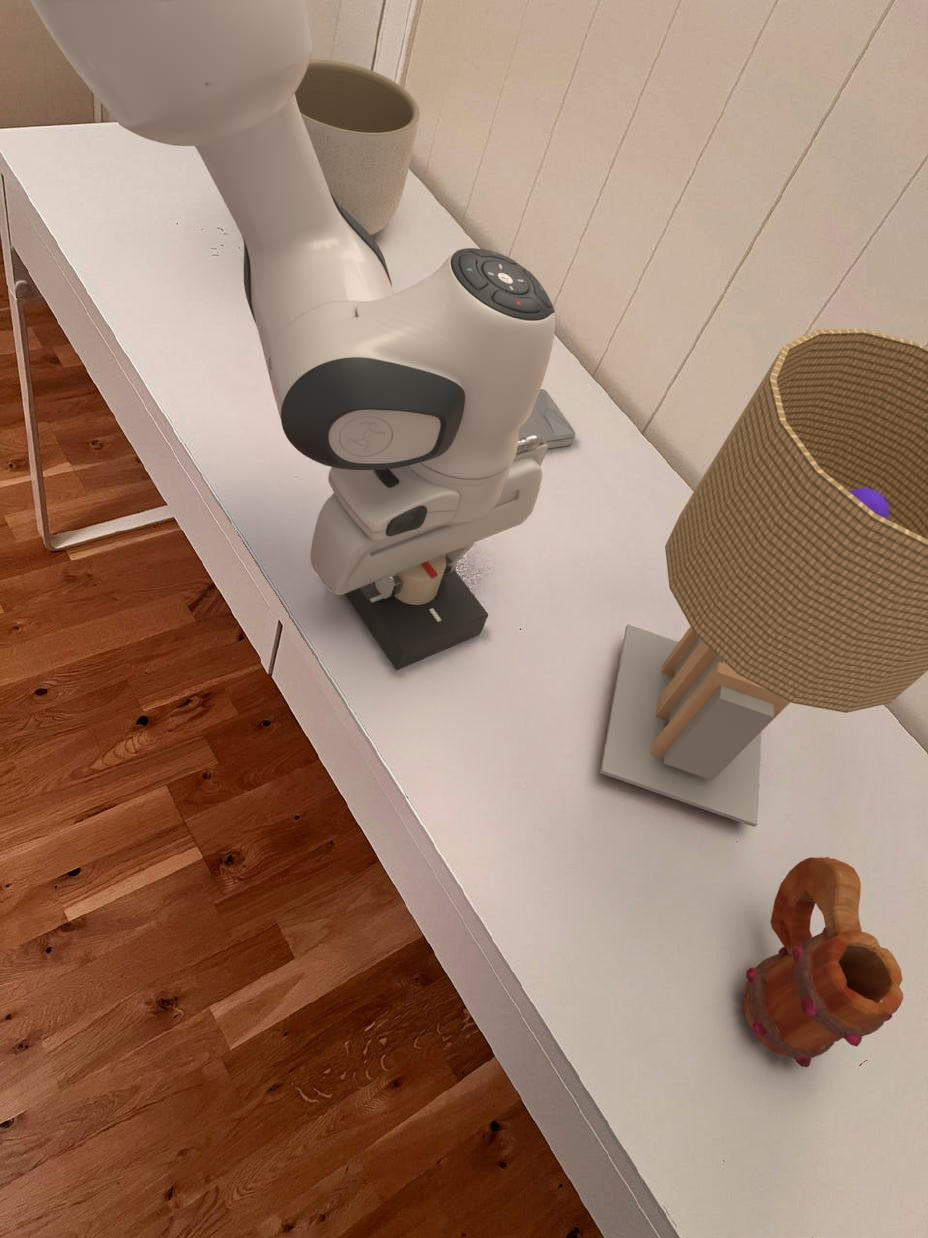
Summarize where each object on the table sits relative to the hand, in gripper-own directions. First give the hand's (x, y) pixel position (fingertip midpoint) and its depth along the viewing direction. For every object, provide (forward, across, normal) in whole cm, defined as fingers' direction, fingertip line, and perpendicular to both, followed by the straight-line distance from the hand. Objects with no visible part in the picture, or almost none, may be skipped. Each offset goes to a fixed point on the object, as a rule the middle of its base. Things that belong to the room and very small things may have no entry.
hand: (414, 579), depth 78 cm
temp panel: (+4, 0, 0) cm, 4 cm away
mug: (+4, -6, +42) cm, 42 cm away
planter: (+4, -25, -56) cm, 62 cm away
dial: (+1, 0, 0) cm, 1 cm away
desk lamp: (+4, -14, +22) cm, 27 cm away
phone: (+4, -22, -16) cm, 28 cm away
